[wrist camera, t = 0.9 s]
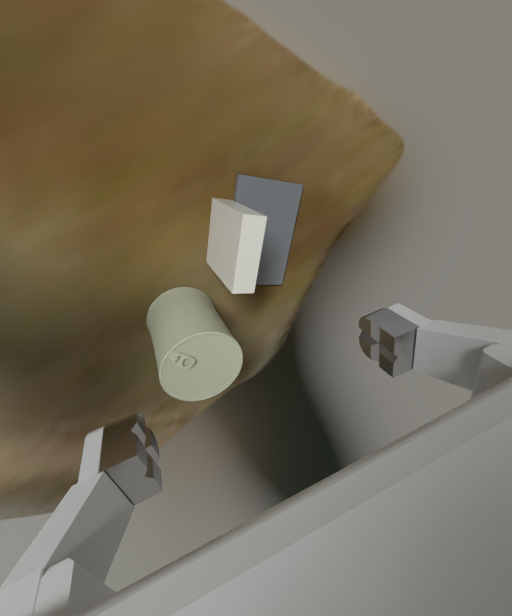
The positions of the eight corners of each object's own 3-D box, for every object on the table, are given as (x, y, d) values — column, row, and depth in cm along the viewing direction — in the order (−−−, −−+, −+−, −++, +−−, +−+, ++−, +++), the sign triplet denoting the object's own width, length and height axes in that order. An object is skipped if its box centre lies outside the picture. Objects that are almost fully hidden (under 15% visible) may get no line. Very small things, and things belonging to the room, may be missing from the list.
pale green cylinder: (172, 273, 37) (194, 319, 27) (226, 305, 42) (261, 353, 33) (132, 330, 38) (140, 392, 29) (190, 353, 44) (212, 413, 34)
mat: (224, 283, 41) (225, 285, 40) (237, 173, 35) (239, 174, 34) (280, 283, 44) (282, 284, 44) (300, 184, 39) (303, 185, 38)
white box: (206, 262, 38) (232, 293, 30) (212, 197, 35) (243, 214, 27) (226, 262, 39) (255, 293, 31) (233, 200, 36) (269, 216, 28)
